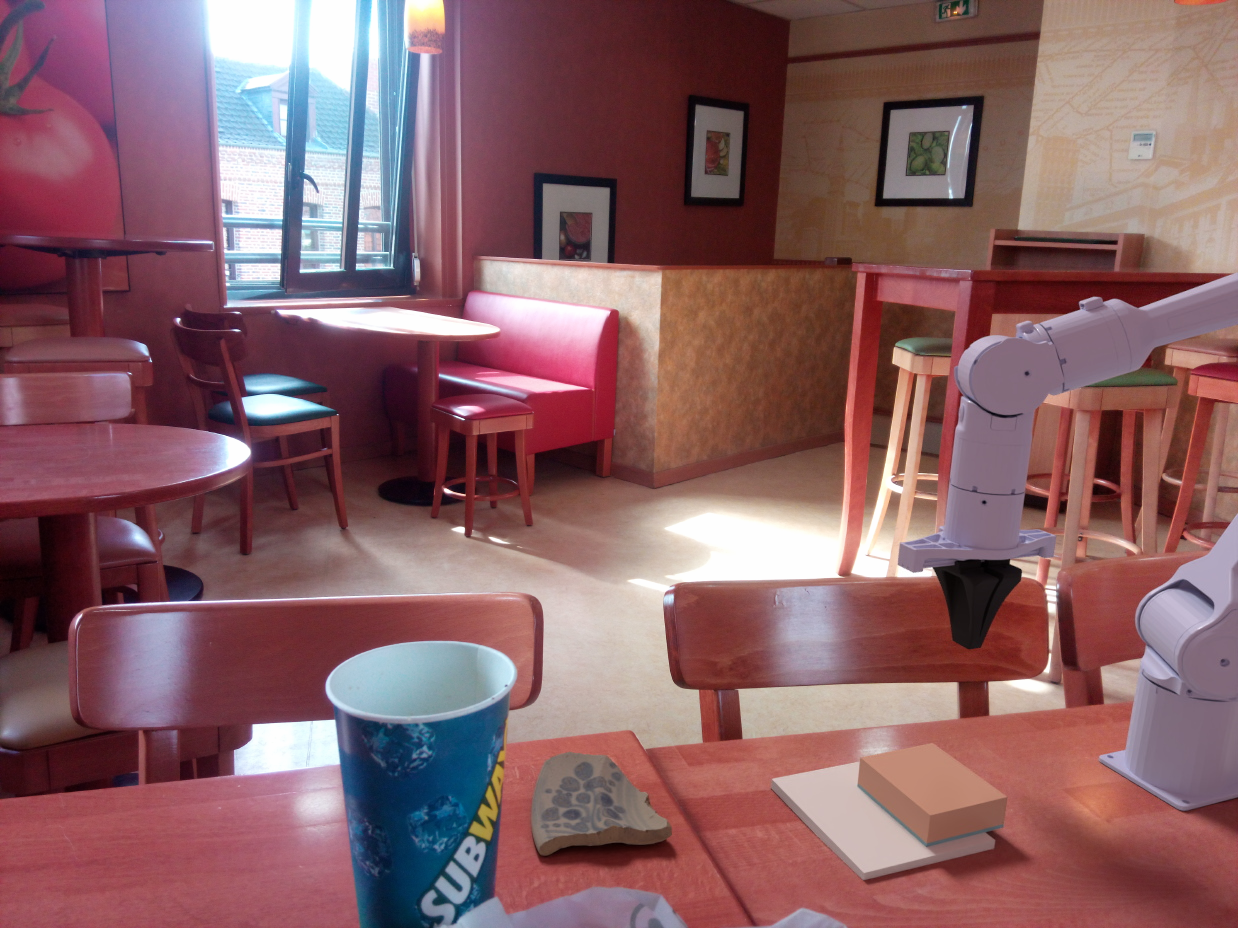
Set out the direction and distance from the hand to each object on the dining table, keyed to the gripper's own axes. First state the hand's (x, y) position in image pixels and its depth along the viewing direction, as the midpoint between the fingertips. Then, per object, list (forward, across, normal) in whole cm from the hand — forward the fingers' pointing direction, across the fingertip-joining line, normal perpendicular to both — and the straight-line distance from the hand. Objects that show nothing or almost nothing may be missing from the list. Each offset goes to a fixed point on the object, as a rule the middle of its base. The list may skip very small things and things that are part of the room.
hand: (966, 644), depth 77 cm
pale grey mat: (+10, +12, +6) cm, 17 cm away
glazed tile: (+8, +5, +7) cm, 12 cm away
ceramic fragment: (+10, +27, +1) cm, 29 cm away
